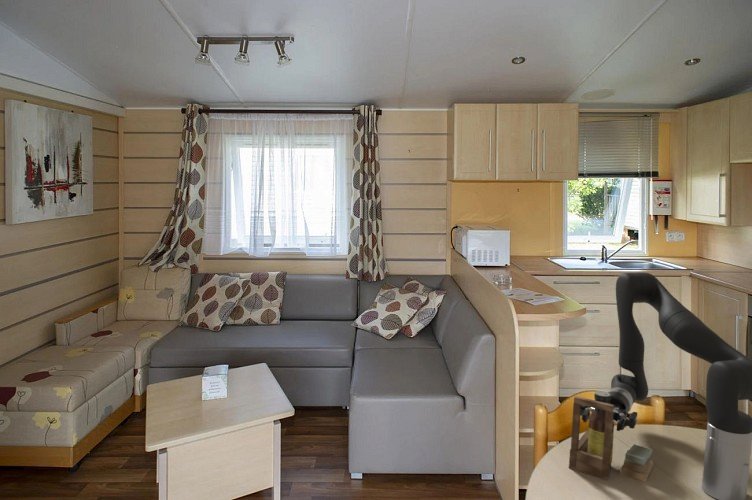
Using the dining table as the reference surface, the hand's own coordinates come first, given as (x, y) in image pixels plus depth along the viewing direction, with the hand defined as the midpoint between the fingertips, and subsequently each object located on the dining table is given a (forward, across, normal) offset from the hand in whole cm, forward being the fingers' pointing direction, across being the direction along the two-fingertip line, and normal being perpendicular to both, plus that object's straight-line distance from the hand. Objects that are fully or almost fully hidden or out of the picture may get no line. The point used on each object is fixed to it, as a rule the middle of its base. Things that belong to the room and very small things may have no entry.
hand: (601, 423), depth 145 cm
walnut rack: (-2, -1, +12) cm, 12 cm away
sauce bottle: (0, 0, +12) cm, 12 cm away
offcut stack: (-4, +9, +12) cm, 16 cm away
